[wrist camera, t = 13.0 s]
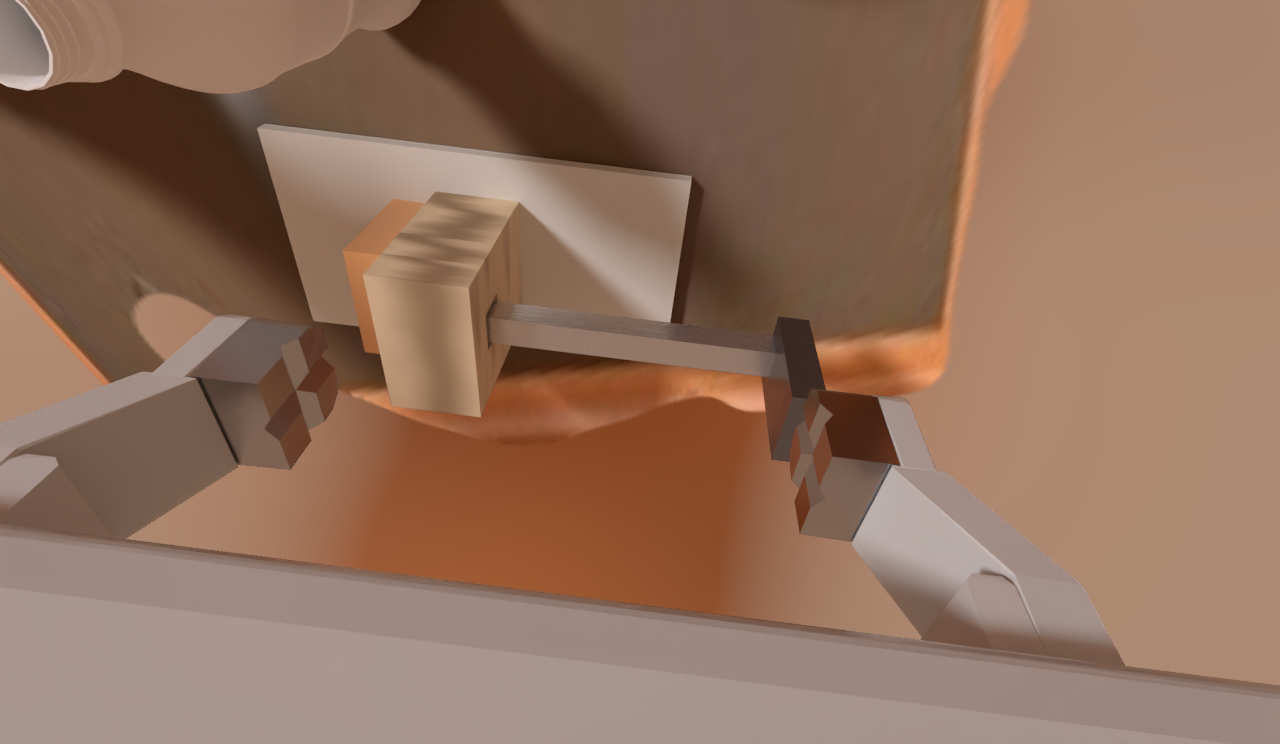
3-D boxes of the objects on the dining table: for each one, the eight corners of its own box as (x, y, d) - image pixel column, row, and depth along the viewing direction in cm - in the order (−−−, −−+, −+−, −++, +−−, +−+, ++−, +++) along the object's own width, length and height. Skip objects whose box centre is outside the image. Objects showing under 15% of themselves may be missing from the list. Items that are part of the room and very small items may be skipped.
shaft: (450, 337, 43) (407, 414, 37) (442, 275, 40) (394, 347, 34) (790, 379, 43) (804, 463, 37) (808, 320, 40) (828, 401, 34)
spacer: (407, 292, 49) (364, 352, 43) (393, 199, 44) (342, 250, 38) (444, 297, 49) (407, 357, 43) (434, 204, 44) (390, 256, 38)
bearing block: (449, 308, 50) (391, 406, 41) (435, 191, 44) (362, 275, 34) (522, 317, 50) (480, 417, 41) (518, 201, 44) (468, 288, 34)
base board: (319, 314, 53) (313, 320, 52) (265, 123, 43) (257, 128, 42) (664, 357, 53) (663, 364, 52) (691, 176, 43) (691, 181, 42)
